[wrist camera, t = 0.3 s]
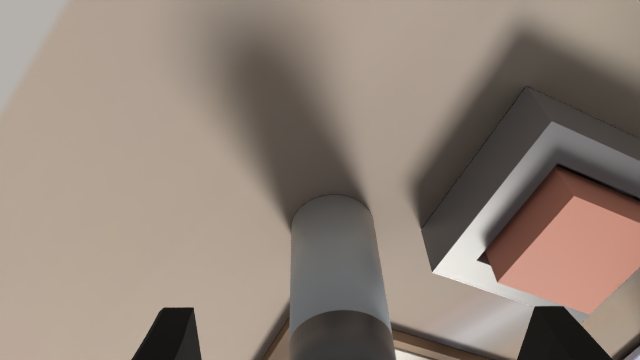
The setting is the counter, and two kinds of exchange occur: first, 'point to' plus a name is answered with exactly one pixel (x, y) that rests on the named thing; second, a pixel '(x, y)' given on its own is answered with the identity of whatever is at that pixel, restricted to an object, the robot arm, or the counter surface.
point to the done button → (569, 242)
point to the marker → (337, 284)
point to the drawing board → (411, 352)
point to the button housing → (523, 184)
